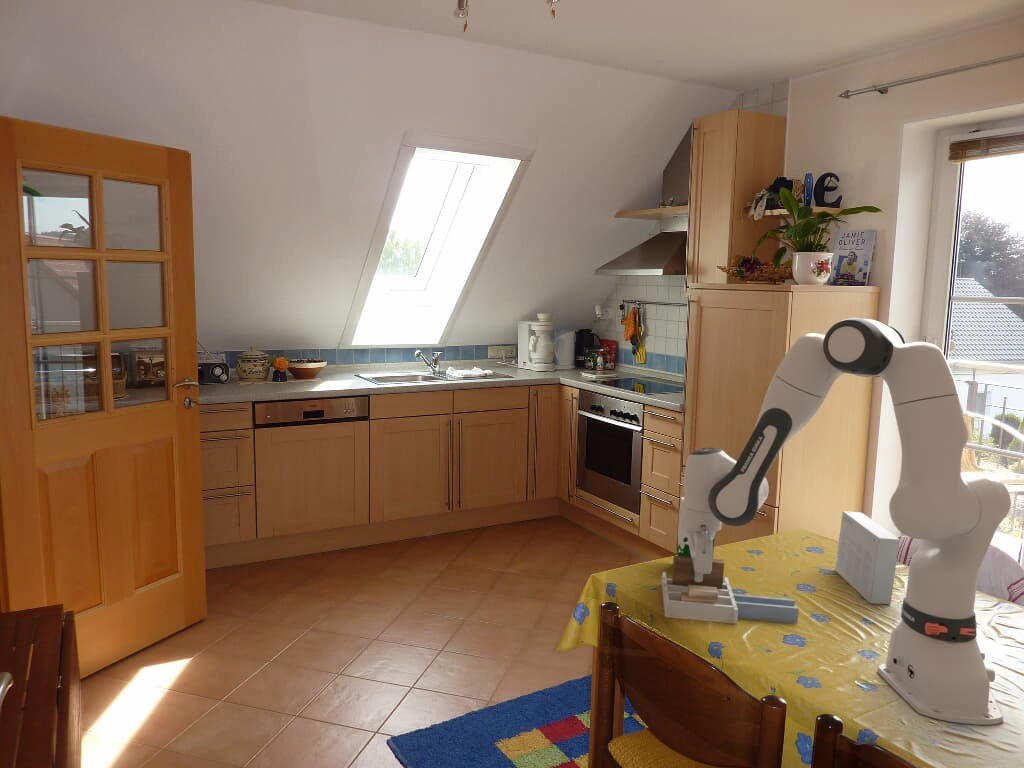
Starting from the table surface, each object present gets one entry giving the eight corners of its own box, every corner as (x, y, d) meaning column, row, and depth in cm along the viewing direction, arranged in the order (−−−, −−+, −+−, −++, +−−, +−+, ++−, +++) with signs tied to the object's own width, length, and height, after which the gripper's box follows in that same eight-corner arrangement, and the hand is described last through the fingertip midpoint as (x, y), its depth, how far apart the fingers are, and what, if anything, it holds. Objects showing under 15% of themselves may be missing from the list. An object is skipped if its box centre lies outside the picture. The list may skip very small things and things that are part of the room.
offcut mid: (714, 608, 168) (715, 600, 167) (681, 605, 169) (681, 597, 168) (713, 602, 171) (713, 594, 170) (680, 599, 172) (681, 591, 171)
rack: (736, 627, 165) (738, 610, 164) (664, 621, 167) (665, 603, 167) (726, 593, 183) (727, 577, 182) (661, 588, 185) (662, 571, 184)
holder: (797, 627, 166) (799, 609, 165) (734, 621, 168) (736, 604, 167) (792, 615, 172) (793, 598, 171) (731, 610, 174) (732, 592, 173)
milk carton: (677, 576, 192) (683, 497, 189) (674, 563, 201) (678, 487, 198) (714, 578, 191) (719, 500, 189) (708, 565, 200) (714, 489, 197)
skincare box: (893, 605, 179) (900, 539, 177) (869, 604, 179) (876, 538, 177) (855, 570, 200) (861, 510, 198) (834, 569, 200) (839, 510, 198)
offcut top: (717, 600, 167) (718, 592, 167) (689, 598, 168) (689, 590, 168) (716, 595, 170) (716, 587, 170) (688, 592, 171) (688, 584, 171)
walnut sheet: (721, 601, 176) (724, 563, 175) (671, 596, 177) (674, 558, 176) (720, 597, 178) (723, 559, 177) (671, 593, 179) (673, 555, 178)
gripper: (721, 535, 164) (716, 597, 166) (711, 507, 184) (707, 563, 186) (690, 532, 165) (686, 595, 167) (684, 505, 185) (680, 560, 187)
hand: (697, 577), depth 177 cm, fingers closed on walnut sheet, 2 cm apart
